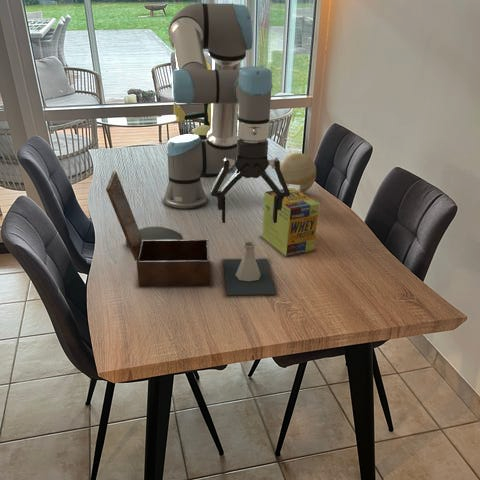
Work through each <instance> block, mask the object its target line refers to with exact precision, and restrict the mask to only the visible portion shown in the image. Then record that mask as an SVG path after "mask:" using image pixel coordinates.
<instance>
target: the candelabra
mask: <svg viewBox="0 0 480 480" xmlns="http://www.w3.org/2000/svg"><path fill="white" fill-rule="evenodd" d="M204 57H205V61H206V65H207V69H208V70H212V68H211V64H210V63H209V62H208V60H207V58H206V55H205V54H204ZM173 115H175V119H176V120H175V122H177V123H178V122H183V121H191V120H197V119H202V118H203V125H198V126H196V127H195V128H193V129H192V130H191V131H190V132H189V133H188V134H192V135H194V134H195V135H198V136H199V137H200V138H201V140H207V134H208V132H209V131H211V123H212V104H203V111H197V112H192V113H185V111H184V109H183V108H182V107H181V106H180V105H179V104H178V103H176V102H173ZM218 175H219V173H217V174H201V177H212V176H218Z"/></svg>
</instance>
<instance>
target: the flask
mask: <svg viewBox="0 0 480 480" xmlns="http://www.w3.org/2000/svg"><path fill="white" fill-rule="evenodd" d="M255 246H256V243H255V242H254V241H249V240H248V241H244V242H243V247H244V250H243V255H242V258H241V259H242V260H241V263H240V265H239V268H238V270H237V272H236V277H237V278H238V279H239V280H243V281H255V280H259V278H260V276H261V274H260V271H259V268H258V265H257V262H256V259H257V258H256V256H255V255H256V254H255Z"/></svg>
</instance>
